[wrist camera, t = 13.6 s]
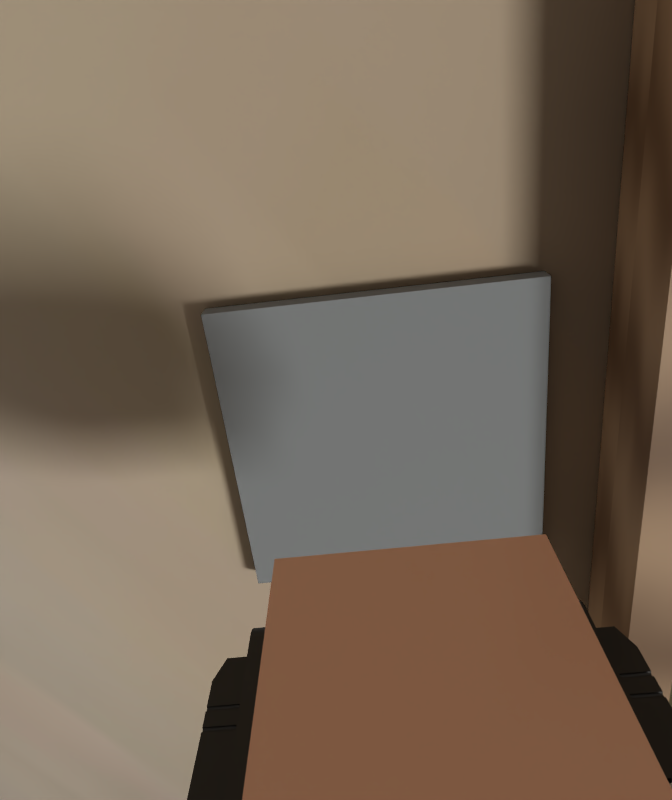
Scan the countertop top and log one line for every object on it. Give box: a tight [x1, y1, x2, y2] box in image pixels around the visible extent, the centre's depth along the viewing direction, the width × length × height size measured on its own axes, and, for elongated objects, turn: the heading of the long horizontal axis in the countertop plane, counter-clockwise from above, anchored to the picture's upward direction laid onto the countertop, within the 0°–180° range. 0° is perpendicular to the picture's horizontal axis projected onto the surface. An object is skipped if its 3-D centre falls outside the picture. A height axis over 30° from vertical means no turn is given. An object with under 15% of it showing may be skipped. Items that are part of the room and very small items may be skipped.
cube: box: [242, 534, 672, 800], centre depth 10 cm, size 5×5×5 cm
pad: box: [201, 271, 551, 583], centre depth 20 cm, size 10×10×1 cm
